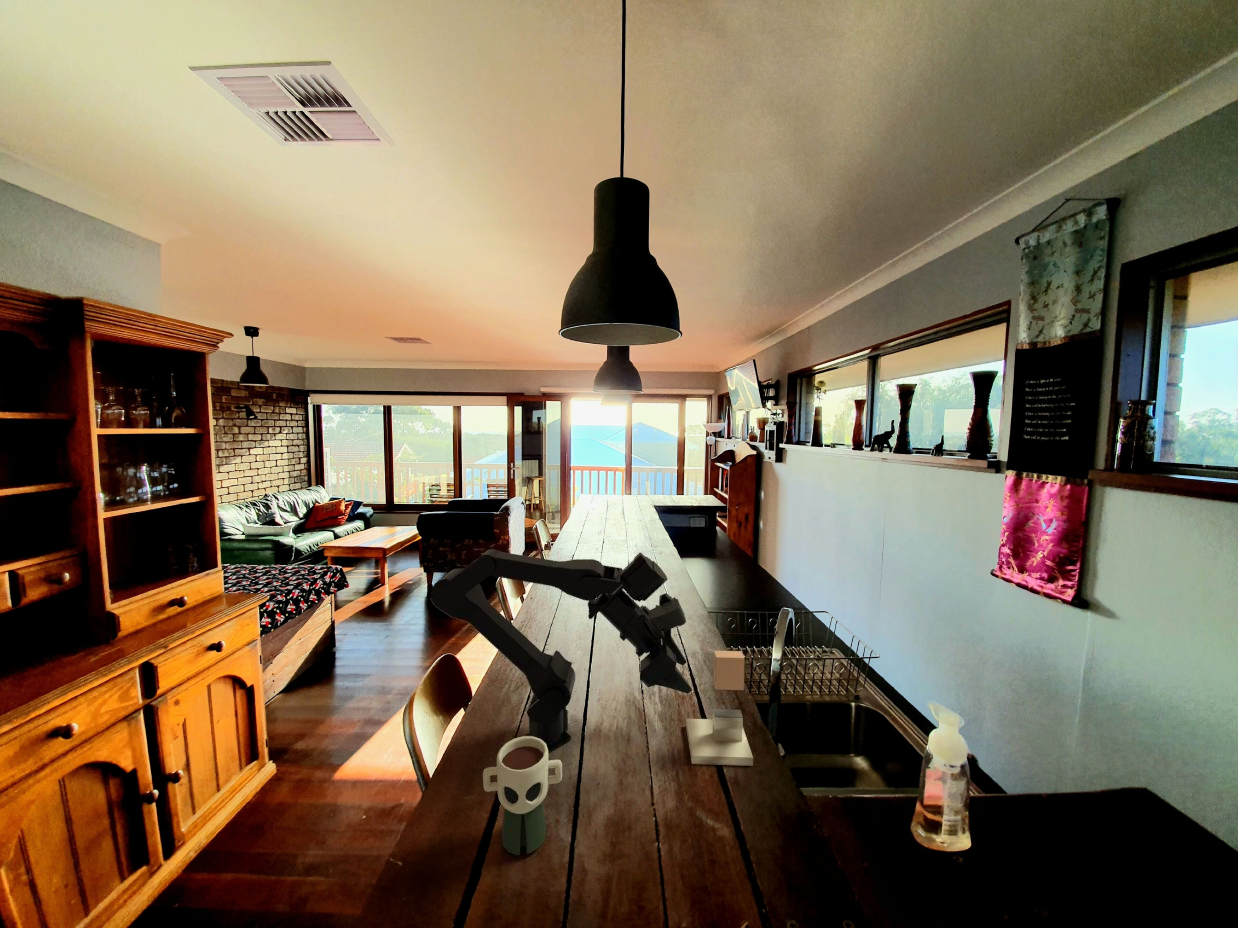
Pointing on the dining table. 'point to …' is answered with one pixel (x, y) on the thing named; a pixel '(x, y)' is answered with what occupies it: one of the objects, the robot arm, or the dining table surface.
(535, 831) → the character mug
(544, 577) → the robot arm
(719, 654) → the peach rectangular post
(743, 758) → the cream square base plate
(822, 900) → the dining table surface
